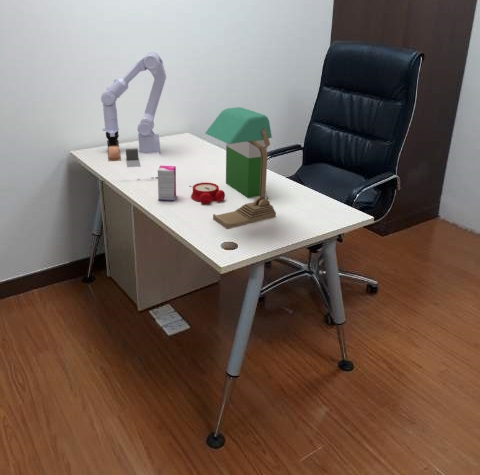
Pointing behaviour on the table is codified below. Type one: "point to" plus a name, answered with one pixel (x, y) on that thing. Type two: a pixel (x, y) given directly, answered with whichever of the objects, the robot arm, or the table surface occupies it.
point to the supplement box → (166, 183)
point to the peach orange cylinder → (108, 151)
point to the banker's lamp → (256, 128)
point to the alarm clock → (207, 193)
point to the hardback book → (244, 167)
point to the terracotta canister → (114, 152)
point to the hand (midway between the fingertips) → (113, 148)
